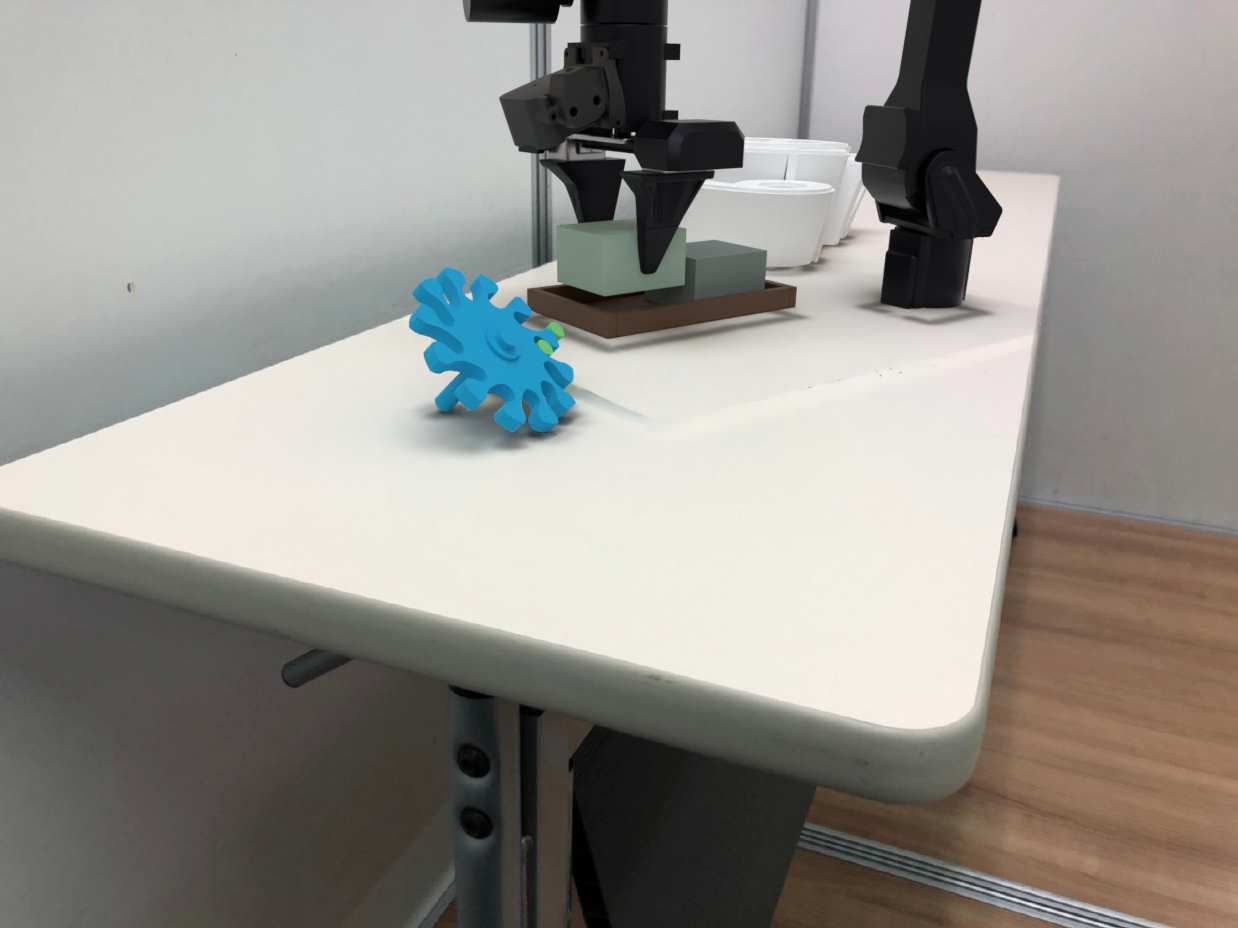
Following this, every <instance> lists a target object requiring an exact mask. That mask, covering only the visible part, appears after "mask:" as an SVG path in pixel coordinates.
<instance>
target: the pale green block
mask: <svg viewBox="0 0 1238 928" xmlns="http://www.w3.org/2000/svg"><path fill="white" fill-rule="evenodd" d="M555 227H556V276H557V277H556V281H557V283H559V284H567V285H570V286H573V287H576V288H579V289H582V290H586V291H589V292H592V293H595V294H598V295H602V296H612V295H619V294H626V293H633V292H640V291H647V290H654V289H661V288H668V287H675V286H682V285H685V258H686V231H687V229H686V228H682V227H678V229H677V231H676V233H675V235H674V237H673V239H672V241H671V243H670V245H669V247H668V249H667V251H666V253H665V255H664V257H663V259H662V261H661V263H660V265H659V267H658V269H657V271H656V272H655V273H653V274H642V273H641V271H640V263H639V256H638V242H637V222H636V217H633V218H623V219H613V220H610V221H599V222H588V223H578V222H577V223H568V224H557V225H556V226H555Z"/></svg>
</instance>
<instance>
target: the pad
mask: <svg viewBox="0 0 1238 928" xmlns="http://www.w3.org/2000/svg"><path fill="white" fill-rule="evenodd" d="M766 262H767V250H762V249H758V248H753V247H748V246H743V245H738V244H733V243H729V242H724V241H719V240H708V241H699V242H690V243H686V258H685V285H682V286H675V287H668V288H661V289H654V290H647V291H645V296H644V299H645V300H648V301H652V302H655V303H658V304H662V305H666V304H673V303H679V302H686V301H692V300H699V299H705V298H712V297H718V296H725V295H731V294H738V293H745V292H751V291H758V290H764V289H765V279H766V275H767V267H766Z"/></svg>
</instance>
